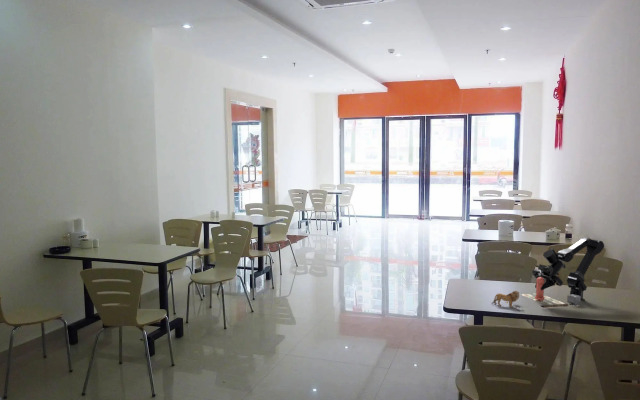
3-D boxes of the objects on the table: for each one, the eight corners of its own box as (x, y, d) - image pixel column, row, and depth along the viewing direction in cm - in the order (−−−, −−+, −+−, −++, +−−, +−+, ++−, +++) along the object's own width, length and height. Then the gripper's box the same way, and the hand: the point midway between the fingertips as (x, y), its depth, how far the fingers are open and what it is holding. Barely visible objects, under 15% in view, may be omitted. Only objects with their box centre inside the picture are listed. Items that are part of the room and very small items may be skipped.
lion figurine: (518, 305, 271) (518, 290, 270) (519, 308, 266) (520, 292, 265) (490, 303, 275) (491, 287, 274) (491, 305, 269) (492, 290, 269)
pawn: (537, 297, 280) (539, 275, 279) (546, 299, 276) (547, 277, 275) (533, 298, 277) (534, 276, 276) (541, 300, 273) (542, 278, 272)
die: (571, 302, 279) (572, 294, 278) (580, 304, 274) (580, 296, 274) (567, 303, 276) (567, 295, 275) (575, 306, 272) (576, 297, 271)
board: (540, 295, 294) (540, 292, 293) (568, 306, 271) (568, 303, 271) (517, 296, 290) (517, 294, 290) (543, 307, 267) (543, 305, 267)
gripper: (534, 256, 285) (519, 275, 282) (560, 262, 267) (543, 283, 265) (544, 268, 288) (529, 287, 285) (569, 275, 271) (553, 296, 268)
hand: (538, 288), depth 276 cm, fingers closed on pawn, 4 cm apart
